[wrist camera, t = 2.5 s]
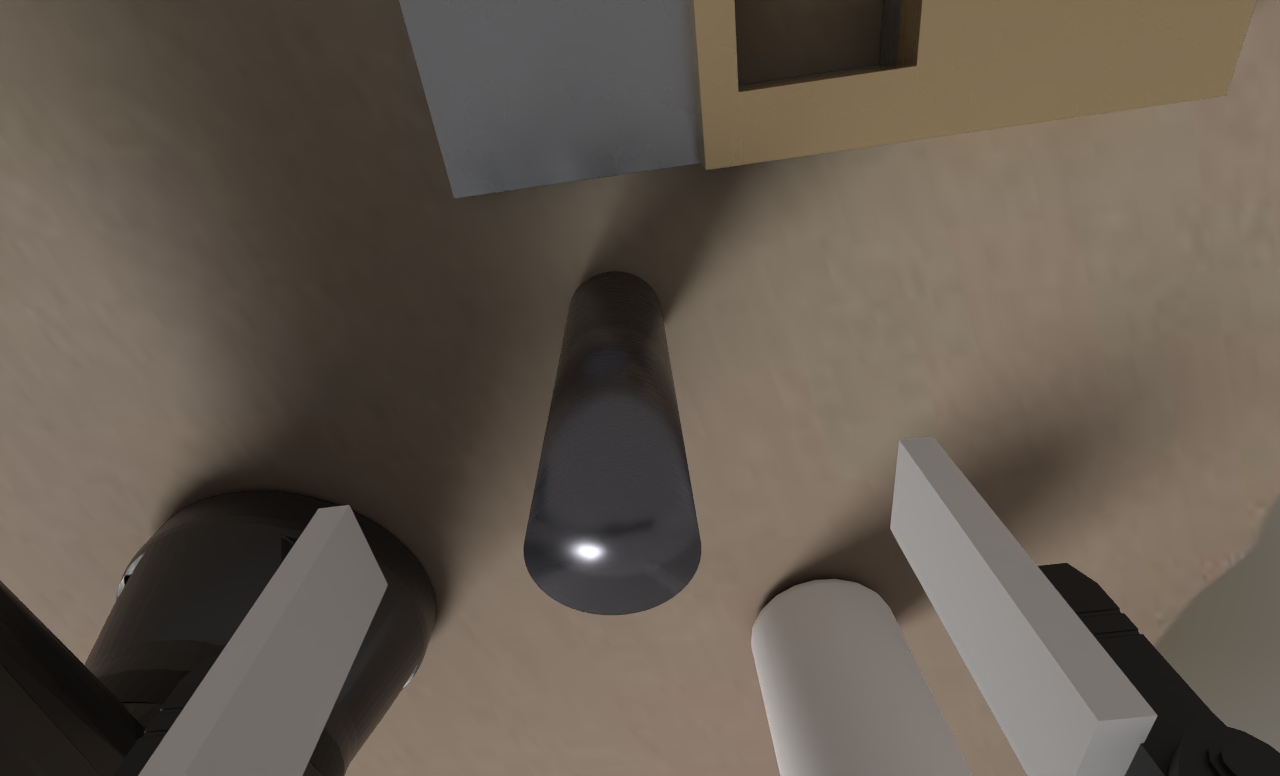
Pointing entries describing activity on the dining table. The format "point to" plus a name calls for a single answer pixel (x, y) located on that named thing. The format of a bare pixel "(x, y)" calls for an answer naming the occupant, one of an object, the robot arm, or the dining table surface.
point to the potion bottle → (847, 688)
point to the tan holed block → (787, 108)
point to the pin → (613, 461)
